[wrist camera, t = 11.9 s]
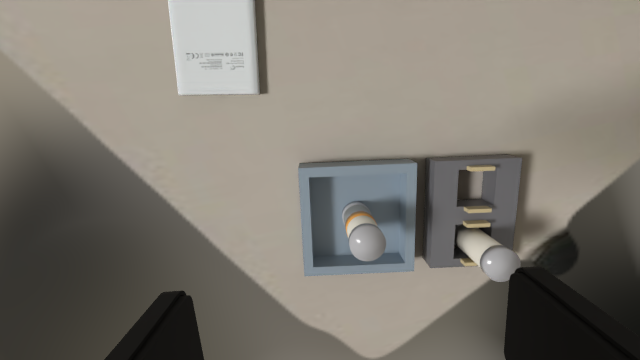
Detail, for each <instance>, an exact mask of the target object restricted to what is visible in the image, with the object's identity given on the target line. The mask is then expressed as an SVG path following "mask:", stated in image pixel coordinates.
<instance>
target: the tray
mask: <svg viewBox="0 0 640 360" xmlns="http://www.w3.org/2000/svg"><path fill="white" fill-rule="evenodd" d="M298 170H299V188H300V205H301V223H302V240H303V258H304V275H305V276H319V275H341V274H363V273H385V272H407V271H414V254H415V221H416V187H417V163H416V162H414V161H412V160H410V159H389V160H365V161H342V162H319V163H300V164H299V168H298ZM353 201H359V202H362V203H364V204H365V205H366V206H367V207H368V208H369V210H370V212H371V216H372V217H373V218H374V220H375V222H376V223H377V226H378V228H379V229H380V230H381V231H382V233H383V235H384V236H385V239H386V248H385V251H384V253H383V254H382V255H381V256H380V257H379V258H378V259H376V260H373V261H361V260H359V259H357V258H356V257H355V256H354V255H353V254H352V252H351V250H350V246H349V238H348V236H347V233H346V229H345V225H344V223H343V220H342V211H343V208H344V207H345V206H346V205H347V204H348V203H350V202H353Z"/></svg>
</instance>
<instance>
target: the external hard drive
mask: <svg viewBox="0 0 640 360" xmlns="http://www.w3.org/2000/svg"><path fill="white" fill-rule="evenodd" d="M168 6H169V15H170V23H171V33H172V41H173V50H174V59H175V68H176V76H177V86H178V94H179V95H257V94H260V86H259V69H258V50H257V31H256V14H255V0H168Z"/></svg>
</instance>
